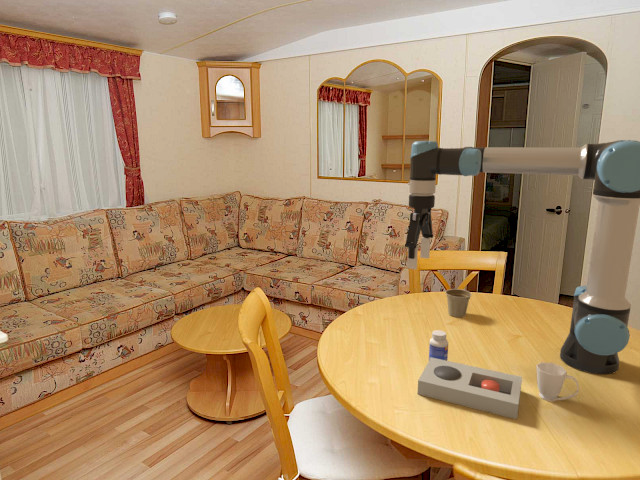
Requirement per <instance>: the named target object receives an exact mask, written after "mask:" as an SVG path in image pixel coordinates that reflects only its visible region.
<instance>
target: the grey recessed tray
mask: <svg viewBox="0 0 640 480" xmlns="http://www.w3.org/2000/svg"><path fill="white" fill-rule="evenodd" d="M522 379H523V376H520V375H516V374H510V373H506V372H501V371H496V370H492V369H487V368H482V367H478V366H473V365H469V364H465V363H460V362H454V361H450V360H447V361H446V360H441V359H437V358H432V357H431V358H430V360H429V359H428V362H427V364H426V366H425V368H424V369H423V371H422V373H421V375H420V376H419V378H418V381H417V395H418V396H419V395H420V396H424V397H428V398H431V399H436V400H439V401H443V402H447V403H451V404H454V405H458V406H463V407H467V408H471V409H475V410H478V411H482V412H487V413H490V414H494V415H498V416H502V417H505V418H510V419H514V420H517V419H518V413H519V407H520V406H519V405H520V398H521V392H522V391H521V390H522V381H523V380H522ZM483 380H493V381H495V382H497V383H499V385H500V389H499V392H496V391H492V390H487V389H483V388H481V384H482V381H483Z"/></svg>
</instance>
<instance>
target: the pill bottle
mask: <svg viewBox="0 0 640 480" xmlns="http://www.w3.org/2000/svg"><path fill="white" fill-rule="evenodd" d="M428 344H429V348H428V349H429V350H428V361H429V360H430V358H431V357H432V358H437V359H441V360H446V361H448V356H449V355H448V354H449V341H448V339H447V332H446V331H443V330H439V329H436V330H432V333H431V338H430V339H429V343H428Z"/></svg>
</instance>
